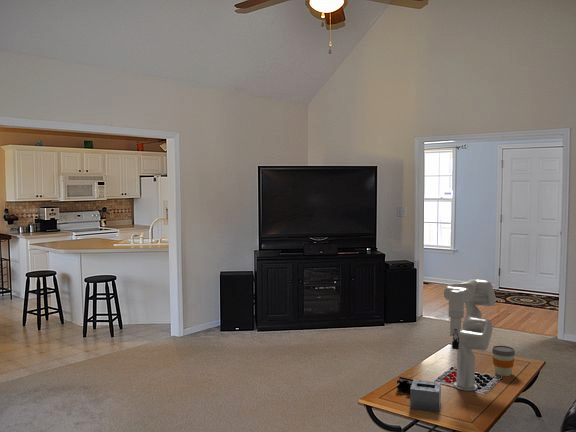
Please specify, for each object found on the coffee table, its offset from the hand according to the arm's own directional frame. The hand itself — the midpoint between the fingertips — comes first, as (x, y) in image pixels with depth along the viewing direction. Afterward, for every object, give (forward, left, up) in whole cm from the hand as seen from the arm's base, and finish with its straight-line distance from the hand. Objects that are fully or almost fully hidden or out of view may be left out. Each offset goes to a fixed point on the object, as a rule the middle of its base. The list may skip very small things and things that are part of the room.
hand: (455, 346), depth 277 cm
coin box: (+12, -14, -28) cm, 34 cm away
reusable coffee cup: (-50, +26, -28) cm, 63 cm away
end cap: (-4, -25, -29) cm, 38 cm away
